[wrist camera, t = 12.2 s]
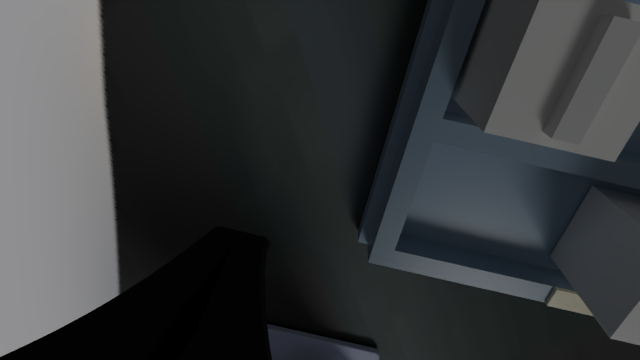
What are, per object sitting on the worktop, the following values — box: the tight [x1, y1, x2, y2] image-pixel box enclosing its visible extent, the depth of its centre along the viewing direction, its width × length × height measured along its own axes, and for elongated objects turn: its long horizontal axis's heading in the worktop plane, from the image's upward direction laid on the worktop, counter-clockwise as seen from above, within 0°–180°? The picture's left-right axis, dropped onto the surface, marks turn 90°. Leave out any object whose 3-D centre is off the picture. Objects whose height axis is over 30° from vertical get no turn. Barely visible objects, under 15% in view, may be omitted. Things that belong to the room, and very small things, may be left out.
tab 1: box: [451, 0, 640, 162], centre depth 12 cm, size 4×4×6 cm
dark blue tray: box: [358, 0, 640, 316], centre depth 16 cm, size 14×19×3 cm
